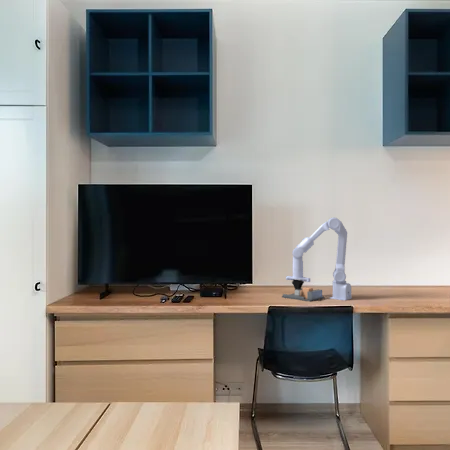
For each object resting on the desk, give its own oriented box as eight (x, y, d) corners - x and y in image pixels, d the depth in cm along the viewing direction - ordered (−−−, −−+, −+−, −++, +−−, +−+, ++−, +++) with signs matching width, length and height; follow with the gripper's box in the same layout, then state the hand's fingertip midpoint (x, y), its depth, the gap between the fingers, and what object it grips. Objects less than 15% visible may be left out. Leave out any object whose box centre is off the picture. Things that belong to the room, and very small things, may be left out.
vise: (323, 298, 236) (323, 289, 236) (310, 301, 227) (309, 292, 227) (295, 294, 249) (295, 286, 249) (281, 297, 240) (281, 288, 240)
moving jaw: (310, 295, 240) (310, 288, 240) (299, 297, 233) (299, 290, 233) (305, 294, 242) (305, 287, 242) (294, 297, 235) (294, 289, 235)
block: (313, 297, 235) (313, 287, 235) (308, 298, 233) (308, 288, 232) (306, 296, 238) (306, 287, 238) (302, 297, 235) (302, 287, 235)
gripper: (313, 269, 238) (313, 294, 238) (290, 267, 248) (290, 291, 248) (306, 270, 233) (306, 296, 233) (283, 268, 242) (283, 293, 243)
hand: (297, 293), depth 240 cm, fingers closed
